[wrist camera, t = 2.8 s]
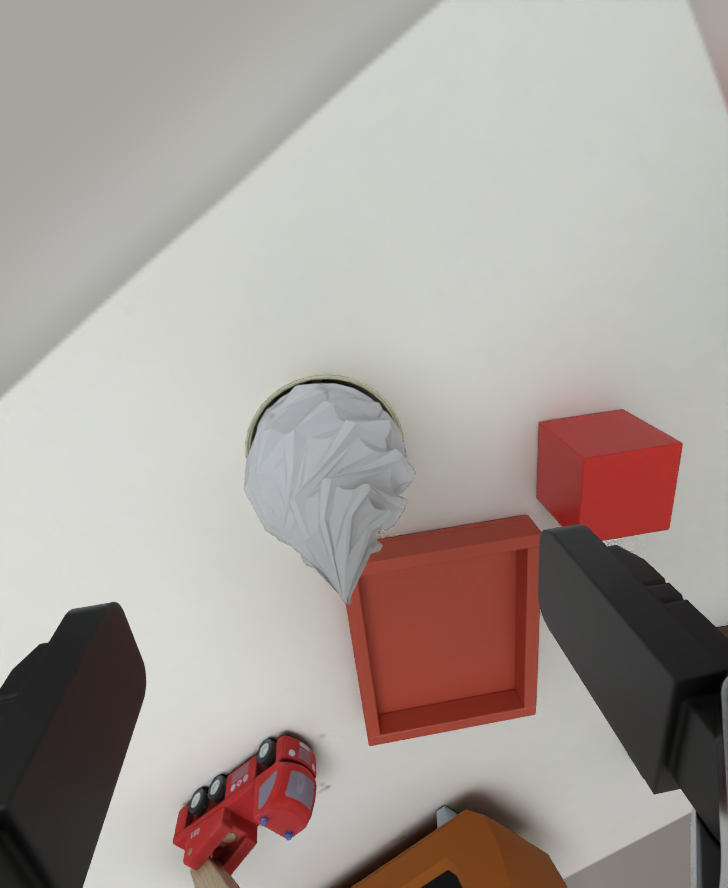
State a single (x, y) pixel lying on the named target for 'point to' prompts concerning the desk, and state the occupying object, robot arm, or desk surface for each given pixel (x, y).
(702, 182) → the desk surface
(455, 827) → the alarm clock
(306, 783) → the toy fire truck
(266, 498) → the ice cream cone
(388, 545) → the red tray
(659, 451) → the red block
